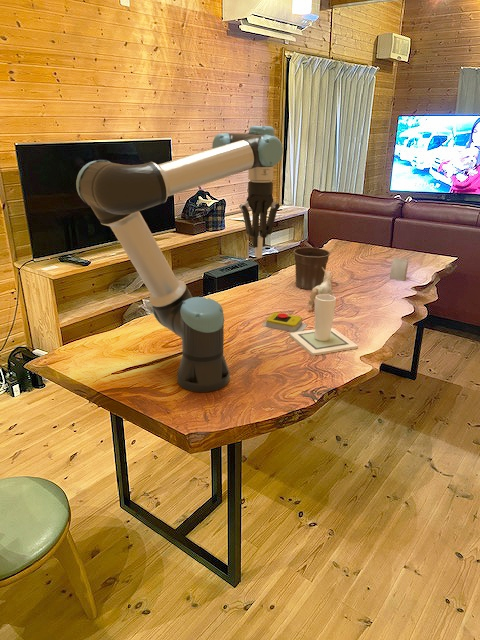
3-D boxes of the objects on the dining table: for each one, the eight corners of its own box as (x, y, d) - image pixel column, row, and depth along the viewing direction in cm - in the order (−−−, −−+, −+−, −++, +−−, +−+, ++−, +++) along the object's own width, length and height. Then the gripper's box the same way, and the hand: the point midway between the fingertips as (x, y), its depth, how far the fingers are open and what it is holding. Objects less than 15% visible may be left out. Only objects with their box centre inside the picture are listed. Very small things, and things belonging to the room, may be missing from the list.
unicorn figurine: (335, 299, 206) (338, 269, 201) (324, 315, 190) (326, 282, 185) (319, 297, 209) (321, 267, 204) (306, 312, 193) (308, 279, 187)
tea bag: (403, 281, 232) (406, 260, 228) (389, 278, 235) (392, 258, 231) (405, 279, 235) (408, 259, 231) (391, 276, 238) (394, 256, 234)
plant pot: (334, 289, 218) (337, 254, 212) (302, 293, 213) (304, 257, 207) (315, 279, 232) (318, 246, 226) (285, 282, 227) (287, 248, 221)
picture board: (312, 356, 157) (313, 353, 156) (289, 335, 171) (289, 332, 171) (357, 348, 162) (358, 345, 162) (331, 329, 177) (331, 326, 177)
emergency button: (270, 308, 185) (308, 314, 179) (270, 318, 187) (308, 325, 181) (261, 316, 177) (301, 323, 172) (261, 327, 179) (300, 335, 173)
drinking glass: (309, 340, 165) (312, 298, 160) (315, 333, 171) (319, 292, 165) (328, 344, 162) (332, 302, 157) (334, 337, 168) (338, 296, 162)
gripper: (245, 182, 142) (243, 261, 151) (285, 181, 146) (281, 258, 155) (236, 180, 148) (235, 255, 157) (274, 178, 153) (271, 252, 162)
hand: (258, 256), depth 156 cm, fingers closed
